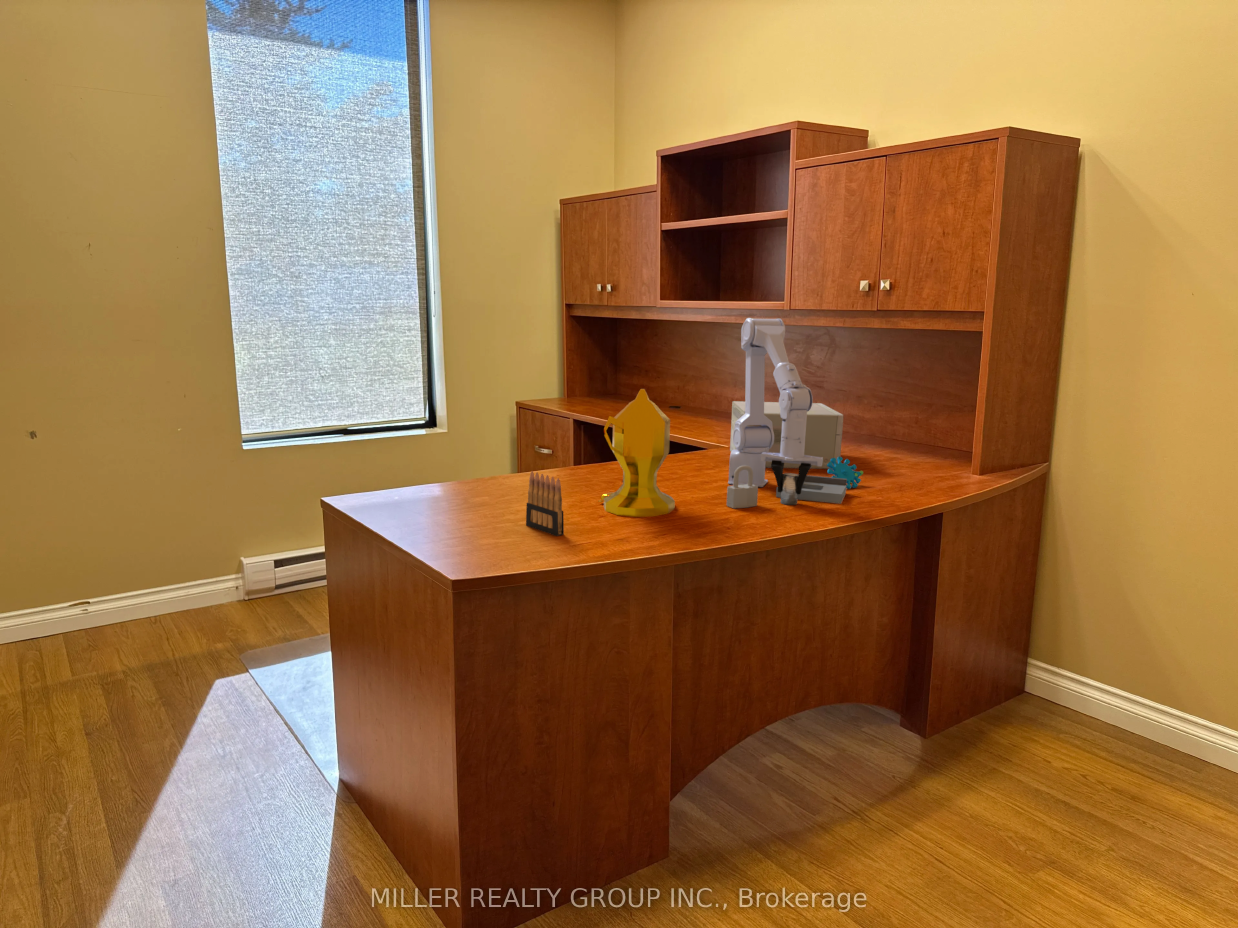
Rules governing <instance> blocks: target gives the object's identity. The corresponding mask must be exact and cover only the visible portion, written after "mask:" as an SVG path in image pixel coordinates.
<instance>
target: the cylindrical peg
mask: <svg viewBox="0 0 1238 928" xmlns="http://www.w3.org/2000/svg"><path fill="white" fill-rule="evenodd" d="M784 473H785V474H784ZM784 473H783V474H782V488H781V498H780V504H783V505H786V506H787V505H788V506H795V505H797V504H798V500H799V499H798V494H797V488H798V480H799V475H798V474H799V473H791V472H784Z"/></svg>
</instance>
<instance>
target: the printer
mask: <svg viewBox="0 0 1238 928" xmlns="http://www.w3.org/2000/svg"><path fill="white" fill-rule="evenodd" d="M731 403H732V404H731V405H732V406H731V419H730V420H731V422H730V423H731V425H730V426H731V427H730V440H729V441H730V443H729V451H730V452H731V451H732V450H737V449H736V447H735V446H734V443H733V432H734V428H735V422H736V421H737V420H738V419H739V418H741V417H742V416H743V415H744V414H745V401H742V400H741V401H737V400H736V401H735V400H734V401H732V402H731ZM764 415H765V416H766V417H767V418H768V419H769V420H771V421H772V426H773V432H774V443H773V445H772V447H771V448H770V449H769V452H766V453H780V447H781V432H782V418H781V415H780V406H779V401H777V402H775V401H773V402H772V401H764ZM752 426H761V425H747V426H746V427H752ZM843 426H844V414H843V413H840V412H839V411H837V410H835V409H833V408H831V407H829V406H827V405H826V404H824V403H820V402H817V403H816V402H813V403H812V407H811V409H810V410H809V411H807V420H806V434H805V449H804V455H808V456H815V457H823V463H822V466H821V467H820V466H815V465H812V466H811V468H810V470H811V469H812V470H814V469H817V470H828V469H829V468H830V467H828V466H827V464H828V463H829V462H831V461H830V460H831V459H832V458H836V463H837V464H838V461H837V458H838V457H841V453H842V452H841V451H842V441H843V440H842V439H843ZM798 462H799V461H798ZM771 464H772V462H771V461H766V465H765V469H767V468H768V469H769V468H770V469H772V468H771ZM832 464H833V463H832ZM800 465H801V464H793V463H784V468H783V469H799V466H800ZM833 466H834V465H833Z"/></svg>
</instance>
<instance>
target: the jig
mask: <svg viewBox="0 0 1238 928" xmlns="http://www.w3.org/2000/svg"><path fill="white" fill-rule="evenodd" d="M785 473H786V472H783V474H785ZM797 474H798V475H799V473H797ZM846 485H847V479H842V478H832V476H830V477H829V476H820V475H811V474H810V475H809V474H807V476H806V478H805V480H804V483H803V486H802V490H801V494H798V499H797V500H800V501H801V500H803V501H811V502H819V503H820V502H821V503H830V504H837V505H838V504H842V503H843V500H844V498H845V496H846V493H847V488H846ZM775 491H776V493H775V497H776V498H780V499H781V492H778V487H776V490H775Z"/></svg>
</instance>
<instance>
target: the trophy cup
mask: <svg viewBox="0 0 1238 928" xmlns="http://www.w3.org/2000/svg"><path fill="white" fill-rule="evenodd" d="M610 425H612V442H611V439H610V436H609V435H608V433H607V430H608V428H609V426H610ZM603 427H604V428H603V436H604V438H605V440H606V442H607V444H608V446H609V448H610V450H611V451H612V453H613V455H614V457H615V459H616V460H617V462H618V464H619V466H620V468H621V469H622V472H623V473H622V474H623V475H622V484H621V485H620V487H619V488H618V489H617V490H616V491H614V492H613V491H610V492H607V493H604V494H601V496H600V497H601V498H600V500H598V501H597V502H598V503H599V502H600V503H601V502H603V508H604V511H605V512H607V513H610V514H612V515H616V516H621V517H631V518H646V517H647V518H648V517H649V518H650V517H657V516H662V515H667V514H670V513H671V512H672V511H674V510H675V505H676V503H675V499H674V498H673V497H672V496H671V495H669V494H667V493H665V492H662V491H661V490H660V488H659V487H658V485H657V478H658V477H657V476H658V471H659V470H660V469H661V466H662V465H663V463H664V461H665V460H666V458H667V457H668V455H669V453H670V440H671V439H670V438H671V437H670V435H671V419H670V418H669V417H668V416H667V415H666V414H665V413H664V412H663V410H661V409H660V408H659V406H658V405H656V403H655V402H653V401H652V400H650V398H649V395H648V393H647V391H646V389H645V388H640V390H639V391H638V393H637V394H636V397H635V399H633V400H631V401H630V402H628V404H626V406H625V407H624V408H623V409H621V410H620V411H619V412H618V413H617V414H616V415H615V416H614V417H613V416H611V415H609V416H608V419H607V421H606V423H605V425H604V426H603Z"/></svg>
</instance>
